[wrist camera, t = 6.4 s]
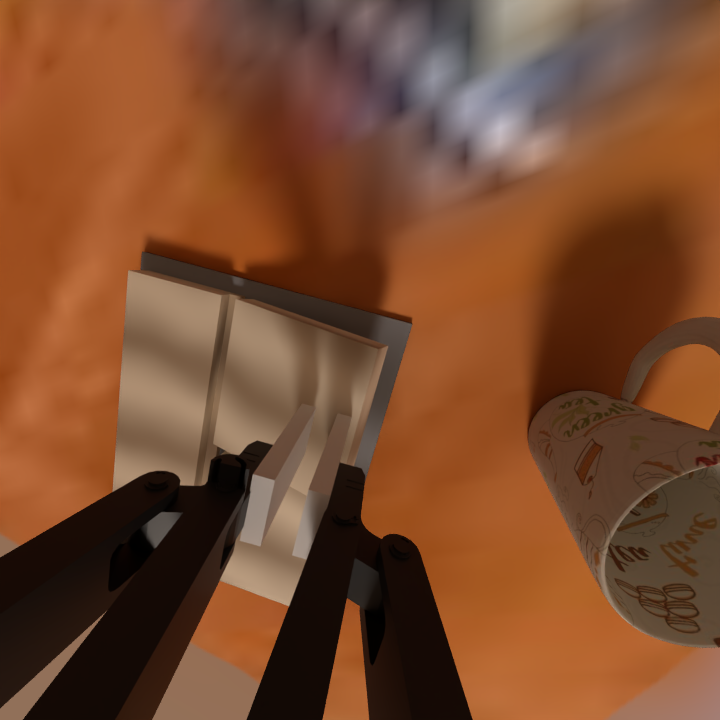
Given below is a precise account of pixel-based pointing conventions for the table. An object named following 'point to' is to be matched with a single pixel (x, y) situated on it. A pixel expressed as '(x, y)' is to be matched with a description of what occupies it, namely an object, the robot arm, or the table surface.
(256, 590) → the plank
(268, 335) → the plank
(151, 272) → the laid row
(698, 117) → the table surface
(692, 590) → the mug
